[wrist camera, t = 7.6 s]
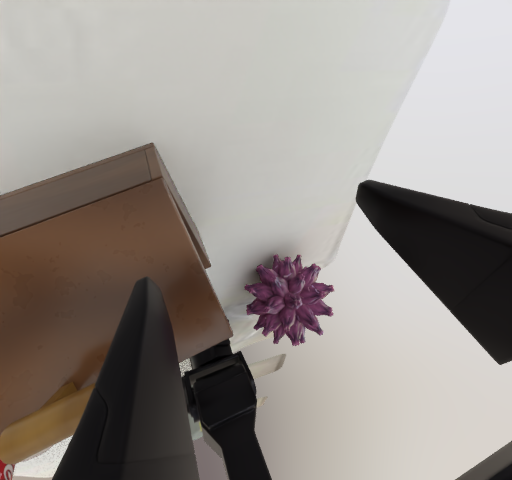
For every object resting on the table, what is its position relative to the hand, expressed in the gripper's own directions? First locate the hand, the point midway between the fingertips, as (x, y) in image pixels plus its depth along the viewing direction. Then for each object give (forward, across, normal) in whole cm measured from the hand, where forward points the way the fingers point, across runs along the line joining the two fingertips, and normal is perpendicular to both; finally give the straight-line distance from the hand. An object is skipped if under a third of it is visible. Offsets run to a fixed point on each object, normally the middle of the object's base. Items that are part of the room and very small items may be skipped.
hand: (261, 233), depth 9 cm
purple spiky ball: (+13, -4, +22) cm, 26 cm away
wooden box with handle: (+4, +10, +5) cm, 12 cm away
